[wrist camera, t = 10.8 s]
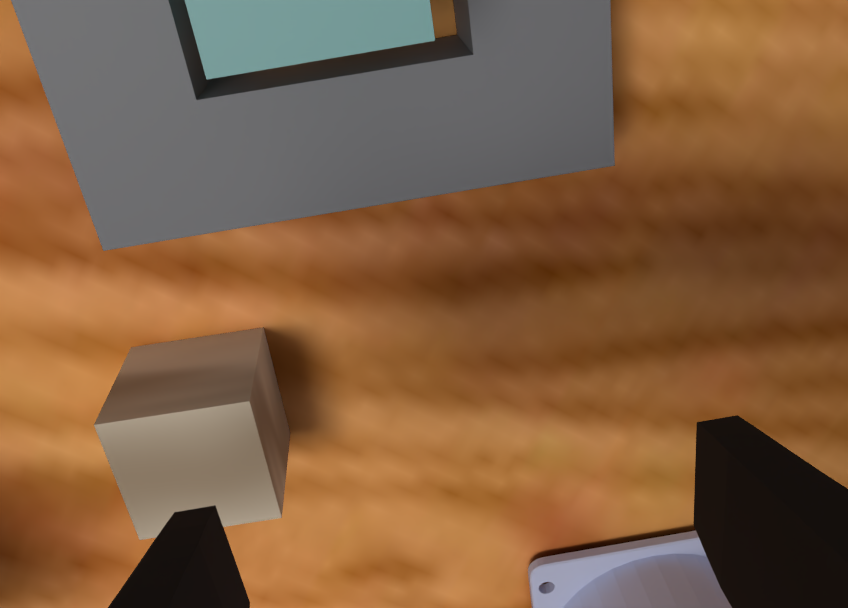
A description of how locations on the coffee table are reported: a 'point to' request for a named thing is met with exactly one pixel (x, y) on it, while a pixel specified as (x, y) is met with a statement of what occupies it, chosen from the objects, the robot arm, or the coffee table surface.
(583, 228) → the coffee table surface
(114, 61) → the hole board
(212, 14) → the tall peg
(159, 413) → the beige cube
